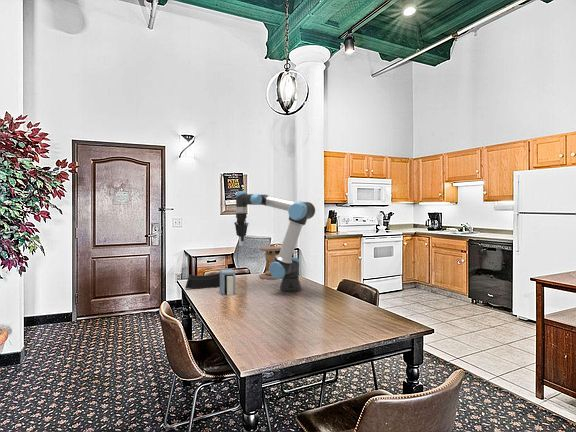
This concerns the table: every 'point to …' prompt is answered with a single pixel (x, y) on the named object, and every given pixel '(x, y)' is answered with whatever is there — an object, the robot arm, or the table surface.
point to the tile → (229, 284)
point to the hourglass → (269, 258)
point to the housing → (222, 279)
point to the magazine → (203, 281)
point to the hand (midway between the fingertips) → (241, 245)
